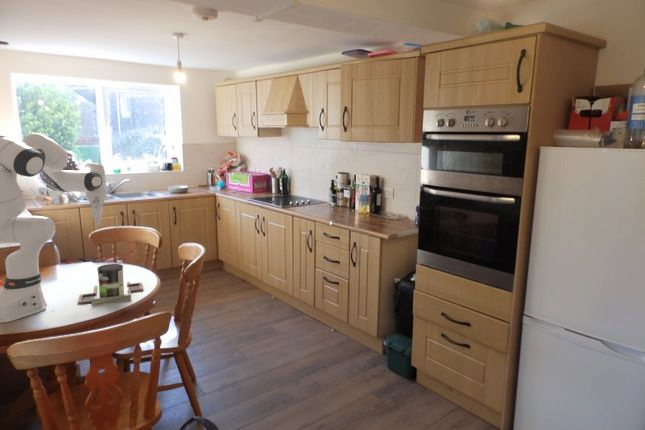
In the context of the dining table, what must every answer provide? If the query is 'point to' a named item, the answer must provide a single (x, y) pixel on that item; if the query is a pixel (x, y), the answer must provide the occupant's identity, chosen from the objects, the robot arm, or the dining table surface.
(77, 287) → the dining table surface
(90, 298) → the lane
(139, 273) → the dining table surface
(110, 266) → the coffee can
